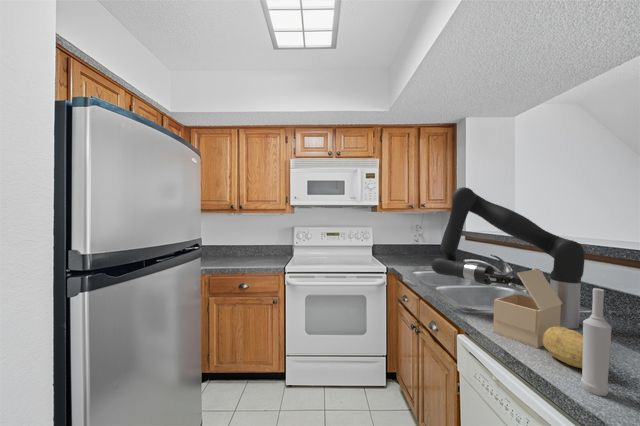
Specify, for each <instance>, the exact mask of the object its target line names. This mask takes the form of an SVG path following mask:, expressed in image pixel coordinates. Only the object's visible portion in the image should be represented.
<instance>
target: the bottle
mask: <svg viewBox="0 0 640 426" xmlns="http://www.w3.org/2000/svg"><path fill="white" fill-rule="evenodd" d="M604 297H605V289H602V288H597V287H596V288H595V287H594V288H592V306H591V307H592V309H591V315H589V317H587V318H586V319H584V320H583V321H582V335H583V365H582V368H581V369H582V372H581V373H582V377H581V378H580V385H581V388H582V389H583V390H584V391H586V392H587V393H590V394H592V395H596V396H599V397H600V396H601V397H605V396H607V395H608V394H609V391H610V387H609V385H608V384H609V383H608V382H609V369H610V354H611V343H612V342H611V341H612V340H611V339H612V325H610V324H609V323H608V321H606V320H605V317H604Z"/></svg>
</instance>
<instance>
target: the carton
mask: <svg viewBox="0 0 640 426" xmlns="http://www.w3.org/2000/svg"><path fill="white" fill-rule="evenodd" d="M493 300H494V301H493V302H494V303H493V327H492V330H493V331H492V333H493V334H496V335H499V336H502V337H505V338H507V339H510V340H514V341H515V342H518V343H520V344H524V345H527V346H530V347H532V348H535V349H539V348H541V347H543V346H544V345H543V339H542V338H543V335H544V333H545V332H546V331H547V329H549V328H551V327H560V311H561V304H560V305H557V306H554V307H551V308H548V309H545V310H542V311H540V309H539V308H538V306H537V305H536V303H535V301H534V300H533V298H532V297H531V295H526V294H522V293H515V294H514V293H513V294H511V295H506V296H502V297H498V298H494V299H493Z"/></svg>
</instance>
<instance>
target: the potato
mask: <svg viewBox="0 0 640 426" xmlns="http://www.w3.org/2000/svg"><path fill="white" fill-rule="evenodd" d="M542 339H543V345H544V348H545V349H546V350H547V351H548V352H549V354H550V355H551V356H553V358H555V359H557V360H559V361H561V362H562V363H565V364H567V365H569V366H571V367H574V368H579V369H582V365H583V334H581V333H580V332H578V331H576V330H574V329H570V328H564V327H551V328H549V329H547V331H546V332H545V333H544V335H543V338H542Z"/></svg>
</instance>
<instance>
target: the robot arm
mask: <svg viewBox="0 0 640 426" xmlns="http://www.w3.org/2000/svg"><path fill="white" fill-rule="evenodd" d="M451 195H452V196H451V210H450V214H449V219H448V223H447V225H446V228H445V230H444V233H443V236H442V240H441V242H440V247H439V251H440V252H441V253H442V255H443V257H437V258H435V259H433V260H432V262H431V269H432V270H433V272H435V273H436V274H438V275H443V276H450V277H451V276H452V277H456V278H459V279H463V280H468V281H469V282H473V283H479V284H482V285H487V286H490V285H491V284H501V285H504V284H505V285H509V284H510V285H513V284H514V285H518V286H522V287H525V286H524V284H523V282H522V281H521V279H520V278H519V277H517V275H515V274H512V273H510V272H503V271H496V270H495V269H494V267H493V266H492V265H487V264H482V263H476V262H467V261H460V260H457V252H458V248H459V245H460V241H461V238H462V234H463V229H464V225H465V222H466V220H467V216H468V214H469V213H472V214H474V215H475V216H476V215H477V216H478V217H480V218H481V219H483V220H485V221H486V222H487V223H489V224H491V226H493V227H495V228H496V229H498V230H500V231H501V232H504V233H505V234H507V235H508V236H511V237H513V238H516V239H518V240H520V241H523V242H525V243H528V244H530V245H533V246H534V247H536V248H538V249H539V250H541V251H543V252H545V253H546V254H547V255H549V256H550V257H551V258H553V268H552V271H551V272H550V280H549V281H550V283H549V284H550V286H551V287H552V289H553V290H554V291H555V293H556V294H557V296H558V297H559V299H560V300H561V302H562V303H563V304H561V311H560V327H564V328H567V329H570V330H574V329H576V330H577V329H579V328H580V316H581V315H580V311H581V286H582V285H581V284H582V278H583V276H584V271H585V269H584V268H585V259H586V258H585V248H584V247H583V246H582V245H581V244H580V243H579V242H578V241H575V240H573V239H572V240H571V239H568V238H564V237H561V236H559V235H556V234H554V233H551V232H549V231H547V230H545V229H543V228H542V227H540V226H539V225H537V223H535V222H533V221H532V220H530V219H529V218H528V217H526V216H524V215H522V214H520V213H518V212H515V211H514V210H512V209H510V208H507V207H504V206H502V205H499V204H496V203H493V202H491V201H488V200H487V199H485V198H484V197H481V196H480V195H478V194H476V193H475V192H474V191H473V190H472V189H471V188H469V187H465V186H464V187H463V186H462V187H459V188H457V189H455V190H454V191H453V193H452V194H451Z"/></svg>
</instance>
